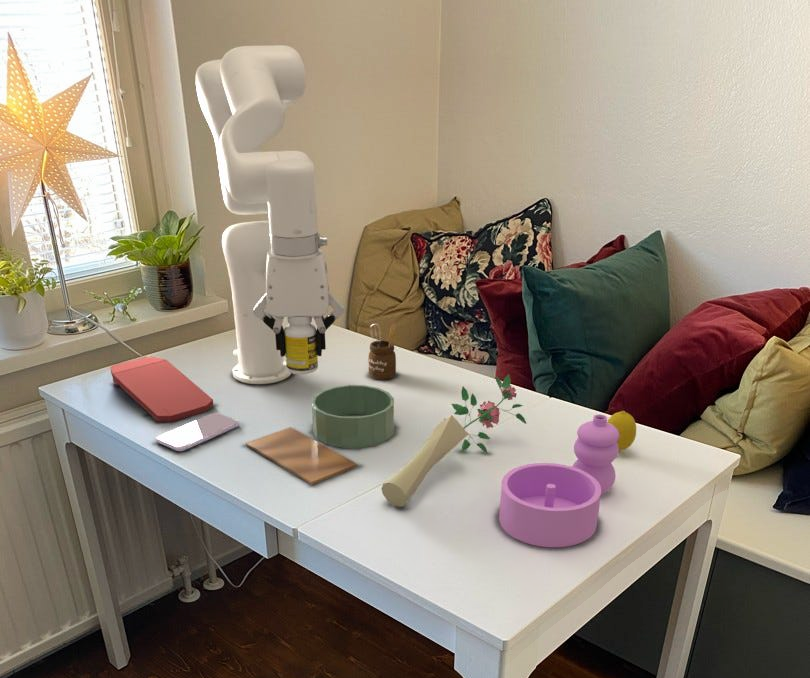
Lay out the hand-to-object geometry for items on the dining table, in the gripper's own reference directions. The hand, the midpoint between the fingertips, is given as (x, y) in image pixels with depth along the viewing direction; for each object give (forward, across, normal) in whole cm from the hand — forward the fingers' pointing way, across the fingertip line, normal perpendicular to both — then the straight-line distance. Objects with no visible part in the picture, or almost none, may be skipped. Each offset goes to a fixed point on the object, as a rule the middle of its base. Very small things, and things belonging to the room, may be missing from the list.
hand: (301, 352), depth 149 cm
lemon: (+19, -56, +2) cm, 59 cm away
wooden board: (+19, +1, +1) cm, 19 cm away
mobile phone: (+19, +21, -8) cm, 29 cm away
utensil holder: (+19, -14, -36) cm, 43 cm away
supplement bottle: (+3, 0, 0) cm, 3 cm away
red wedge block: (+19, +32, -26) cm, 45 cm away
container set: (+19, -42, +22) cm, 51 cm away
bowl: (+19, -8, -9) cm, 23 cm away
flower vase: (+19, -25, +7) cm, 32 cm away
